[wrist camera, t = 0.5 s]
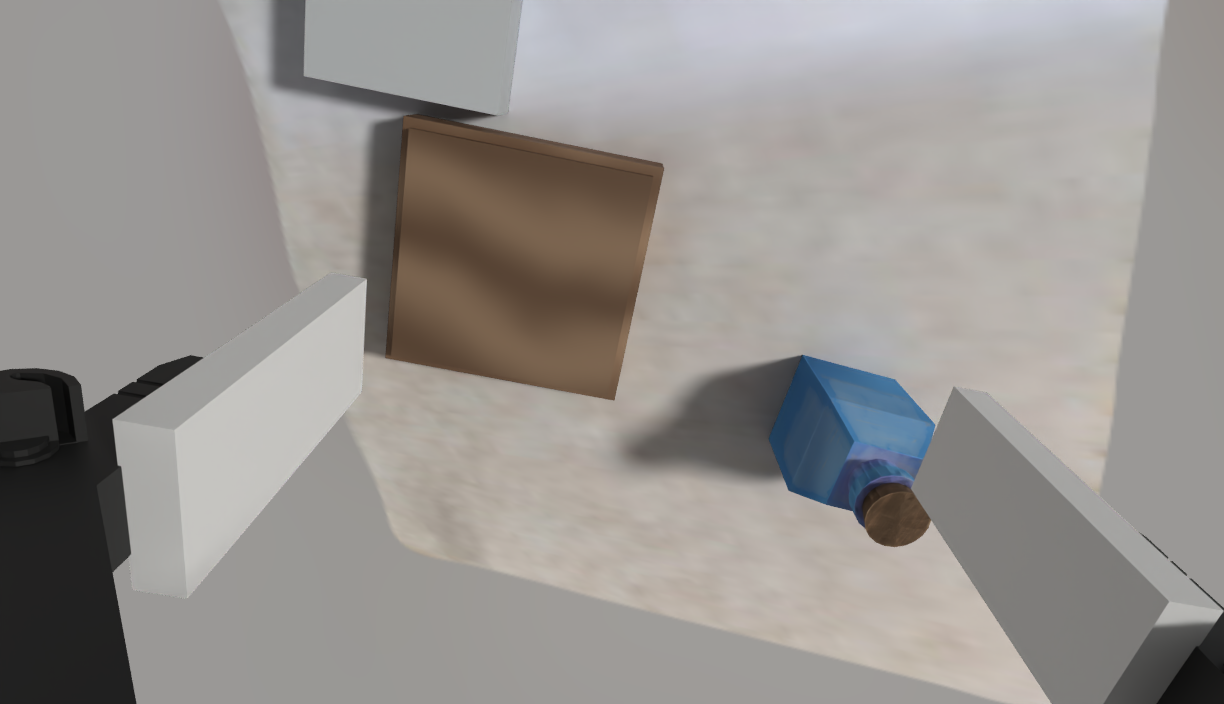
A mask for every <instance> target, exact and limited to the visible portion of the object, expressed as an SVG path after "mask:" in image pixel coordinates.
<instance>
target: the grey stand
mask: <svg viewBox="0 0 1224 704" xmlns="http://www.w3.org/2000/svg"><path fill="white" fill-rule="evenodd" d="M521 7H522V0H305V41H304V76H306V77H310V78H315V79H320V80H325V81H330V82H335V83H340V84H345V85H350V86H355V87H360V88H365V89H369V90H374V91H379V92H384V93H389V94H394V95H399V96H404V97H409V98H414V99H419V100H424V101H429V102H433V103H438V104H443V105H448V106H453V107H458V108H463V109H468V110H473V111H478V112H483V113H488V114H493V115H497V116H499V115H503V114H507V113H508V108H509V101H510V93H511V85H512V77H513V69H514V62H515V54H516V46H517V38H518V31H519V23H520V15H521Z"/></svg>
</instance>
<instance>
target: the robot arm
mask: <svg viewBox="0 0 1224 704" xmlns="http://www.w3.org/2000/svg"><path fill="white" fill-rule="evenodd" d="M366 288H367V279H366V278H360V277H355V276H349V275H344V274H339V273H333V272H331V273H329V274H328V275H326V276H325V277H323V278H322V279H320V280H319V281H317V282H316V283H314V284H313V285H312V286H310V287H309V288H307V289H306V290H304V291H303V292H301V293H300V294H298V295H297V296H295V297H294V298H292V299H291V300H289V301H288V302H286V303H285V304H283V305H282V306H280V307H279V308H277V309H276V310H275V311H273V312H271V313H270V314H269V315H267V316H265V317H264V318H262V319H261V320H260V321H258V322H257V323H255V324H254V325H252V326H251V327H249V328H248V329H246V330H245V331H243V332H242V333H240V334H239V335H238V336H236V337H234V338H233V339H231V340H230V341H228V342H227V343H225V344H224V345H222V346H221V347H219V348H218V349H216V350H215V351H214V352H212V353H210V354H209V355H207V356H206V357H204V358H203V357H196V356H191V355H190V356H187V357H184V358H181V359H177V360H174V361H171V362H168V363H165V364H162V365H159V366H157V367H156V368H154V369H153V370H151V371H149V372H148V373H146V374H145V375H143V376H141V377H140V378H138V379H137V382H132V383H130V384H129V385H127V386H125V387H124V388H122V389H120V390H119V391H118V394H113V395H111V396H109V397H108V398H106V399H105V400H103V401H101V402H100V403H98V404H96V405H95V406H93V407H92V408H90V409H89V410H87V411H85V412H84V405H83V397H82V390H81V384H80V383H79V382H78V381H77V379H76V378H75V377H74V376H71V375H68V374H66V373H63V372H60V371H55V370H47V369H37V368H35V369H33V368H32V369H9V370H3V371H0V704H136V699H135V694H134V689H133V682H132V677H131V671H130V666H129V660H128V656H127V650H126V644H125V639H124V633H123V628H122V622H121V617H120V612H119V606H118V600H117V595H116V590H115V584H114V579H113V573H112V572H113V571H114V570H115V569H116V568H117V567H118V566H119V565H120V564H122V563H123V561H125V560H126V559H127V558H129V566H130V574H131V583H132V590H136V591H143V592H149V593H155V594H161V595H167V596H173V597H179V598H185V599H187V598H188V597H189V596H190V595H191V594H192V593H193V592H194V590H195V589H196V588H197V587H198V586H199V584H200V583H201V582H202V580H204V578H205V577H206V576H207V575H208V574H209V573H210V571H211V570H212V569H213V568H214V567H215V565H216V564H217V563H218V562H219V561H220V559H221V558H222V557H223V556H224V555H225V554H226V552H227V551H228V550H229V549H230V548H231V546H232V545H233V544H234V543H235V542H236V541H237V539H238V538H239V537H240V536H241V535H242V533H243V532H244V531H245V530H246V529H247V527H248V526H249V525H250V524H251V523H252V522H253V520H254V519H255V518H256V517H257V516H258V514H259V513H260V512H261V511H262V510H263V508H264V507H265V506H266V505H267V504H268V503H269V501H270V500H271V499H272V498H273V497H274V495H275V494H276V493H277V492H278V491H279V489H280V488H281V487H282V486H283V485H284V484H285V482H286V481H287V480H288V478H290V476H291V475H292V474H293V473H294V472H295V470H296V469H297V468H298V467H299V466H300V464H301V463H302V462H303V461H304V460H305V459H306V457H307V456H308V455H309V454H310V453H311V451H312V450H313V449H314V448H315V447H316V446H317V444H318V443H319V442H320V441H321V440H322V438H323V437H324V436H325V435H326V434H327V433H328V431H329V430H330V429H331V428H332V427H333V425H334V424H335V423H336V422H337V421H338V419H339V418H340V417H341V416H342V415H343V414H344V412H345V411H346V410H347V409H348V408H349V407H350V405H351V404H352V403H353V402H354V401H355V399H356V398H357V397H358V396H359V395H360V393H361V392H362V377H363V355H364V333H365V311H366ZM911 490H912V491H913V493H914V494H915V496H916V497H917V499H918V500H919V502H920V504H921V505H922V507H923V508H924V510H925V511H926V513H927V514H928V516H929V517H930V519H931V520H932V522H933V523H934V525H935V526H936V528H937V529H938V531H939V533H940V534H941V536H942V537H943V539H944V540H945V542H946V543H947V545H948V546H949V548H950V549H951V551H952V552H953V554H954V555H955V557H956V558H957V560H958V561H959V563H960V565H961V566H962V568H963V569H964V571H965V572H966V574H967V575H968V577H969V578H970V580H971V581H972V583H973V584H974V586H975V587H976V589H977V590H978V592H979V594H980V595H981V597H982V598H983V600H984V601H985V603H986V604H987V606H988V607H989V609H990V610H991V612H992V613H993V615H994V616H995V618H996V619H997V621H998V622H999V624H1000V626H1001V627H1002V629H1003V630H1004V632H1005V633H1006V635H1007V636H1008V638H1009V639H1010V641H1011V642H1012V644H1013V645H1014V647H1015V648H1016V650H1017V651H1018V653H1019V655H1020V656H1021V658H1022V659H1023V661H1024V662H1025V664H1026V665H1027V667H1028V668H1029V670H1030V671H1031V673H1032V674H1033V676H1034V677H1035V679H1036V680H1037V682H1038V683H1039V685H1040V687H1041V688H1042V690H1043V691H1044V693H1045V694H1046V696H1047V697H1048V699H1049V700H1050V702H1051V703H1052V704H1224V608H1223V607H1222V606H1221V605H1220V604H1219V603H1217V602H1216V601H1215V600H1214V599H1213V598H1212V597H1211V596H1210V595H1209V594H1208V593H1206V592H1205V591H1204V590H1203V589H1202V588H1201V587H1200V586H1199V585H1198V584H1197V583H1196V582H1194V581H1193V580H1192V579H1189V578H1188V577H1187V574H1186V573H1185V572H1184V571H1183V570H1181V569H1180V568H1179V567H1178V566H1177V565H1176V564H1175V563H1174V562H1173V561H1169V560H1168V557H1167V556H1166V555H1165V554H1164V553H1163V552H1162V551H1161V550H1160V549H1158V548H1157V547H1156V546H1155V545H1154V544H1153V543H1152V542H1151V541H1149V539H1148V538H1147V537H1145V536H1144V535H1142V534H1141V533H1139V532H1138V531H1137V530H1135V528H1133V527H1132V526H1131V525H1130V524H1129V523H1128V522H1127V521H1126V520H1125V519H1124V518H1123V517H1122V516H1120V515H1119V514H1118V513H1117V512H1116V511H1115V510H1114V509H1113V508H1112V507H1111V506H1110V505H1108V504H1107V503H1106V502H1105V501H1104V500H1103V499H1102V498H1101V497H1100V496H1099V495H1098V494H1097V493H1095V492H1094V491H1093V490H1092V489H1091V488H1090V487H1089V486H1088V485H1087V484H1086V483H1085V482H1084V481H1082V480H1081V479H1080V478H1079V477H1078V476H1077V475H1076V474H1075V473H1074V472H1073V471H1072V470H1071V469H1069V468H1068V467H1067V466H1066V465H1065V464H1064V463H1063V462H1062V461H1061V460H1060V459H1059V458H1057V457H1056V456H1055V455H1054V454H1053V453H1052V452H1051V451H1050V450H1049V449H1048V448H1047V447H1046V446H1044V445H1043V444H1042V443H1041V442H1040V441H1039V440H1038V439H1037V438H1036V437H1035V436H1034V435H1033V434H1031V433H1030V432H1029V431H1028V430H1027V429H1026V428H1025V427H1024V426H1023V425H1022V424H1021V423H1020V422H1018V421H1017V420H1016V419H1015V418H1014V417H1013V416H1012V415H1011V414H1010V413H1009V412H1008V411H1006V410H1005V409H1004V408H1003V407H1002V406H1001V405H1000V404H999V403H998V402H997V401H996V400H995V399H993V398H992V397H991V396H990V395H989V394H988V393H987V392H982V391H976V390H971V389H965V388H960V387H954V388H953V390H952V392H951V395H950V397H949V399H948V402H947V404H946V407H945V409H944V411H943V414H942V416H941V418H940V421H939V423H938V426H937V428H936V430H935V433H934V435H933V437H932V440H931V442H930V445H929V447H928V449H927V452H926V454H925V456H924V459H923V461H922V464H921V466H920V468H919V471H918V473H917V475H916V478H915V480H914V483H913V485H912V487H911Z"/></svg>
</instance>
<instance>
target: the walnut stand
mask: <svg viewBox="0 0 1224 704" xmlns="http://www.w3.org/2000/svg"><path fill="white" fill-rule="evenodd" d="M663 171H664V167H663V164H662V163H657V162H652V161H647V160H642V159H637V158H632V157H627V156H622V155H617V154H612V153H607V152H602V151H597V150H593V149H588V148H583V147H578V146H573V145H568V144H563V143H558V142H553V141H548V140H543V139H538V138H533V137H528V136H523V135H518V134H513V133H508V132H504V131H499V130H494V129H489V128H484V127H479V126H474V125H469V124H464V123H459V122H454V121H449V120H444V119H439V118H434V117H429V116H424V115H419V114H413V115H406V116H404V117H403V131H402V144H401V157H400V171H399V184H398V197H397V211H396V224H395V237H394V250H393V264H392V277H391V290H390V304H389V317H388V330H387V344H386V357H385V358H388V359H394V360H399V361H405V362H410V363H415V364H421V365H426V366H431V367H437V368H442V369H448V370H453V371H458V372H464V373H469V374H475V375H480V376H485V377H491V378H496V379H502V380H507V381H512V382H518V383H523V384H528V385H534V386H539V387H545V388H550V389H555V390H561V391H566V392H572V393H577V394H582V395H588V396H593V397H598V398H604V399H609V400H615V395H616V390H617V386H618V381H619V376H620V372H621V367H622V362H623V358H624V353H625V348H626V344H627V339H628V334H629V330H630V325H631V320H632V316H633V311H634V306H635V302H636V297H637V292H638V288H639V283H640V278H641V274H642V269H643V264H644V260H645V255H646V250H647V246H648V241H649V236H650V232H651V227H652V222H653V218H654V213H655V208H656V204H657V199H658V194H659V190H660V185H661V180H662V176H663Z"/></svg>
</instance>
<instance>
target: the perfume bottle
mask: <svg viewBox="0 0 1224 704" xmlns="http://www.w3.org/2000/svg"><path fill="white" fill-rule="evenodd" d="M934 428H935V424H934V423H933V422H932V420H931V419H930V418H929V417H928V416H927V415H926V414H925V413H924V412H923V410H922V409H921V408H920V407H919V406H918V405H917V404H916V403H915V401H914V400H913V399H912V398H911V397H910V396H909V395H908V394H907V393H906V391H905V390H904V389H903V388H902V387H901V386H900V385H899V384H898V382H897V381H896V380H894V379H891V378H887V377H883V376H880V375H876V374H872V373H868V372H865V371H861V370H857V369H853V368H850V367H846V366H842V365H838V364H835V363H831V362H827V361H823V360H820V359H816V358H812V357H809V356H805V355H802V358H801V360H800V363H799V365H798V368H797V370H796V373H795V375H794V377H793V380H792V382H791V385H790V387H789V390H788V392H787V395H786V397H785V400H784V402H783V405H782V407H781V410H780V412H779V415H778V417H777V419H776V422H775V424H774V427H773V429H772V432H771V434H770V437H769V441H770V444H771V446H772V449H773V451H774V454H775V457H776V459H777V462H778V464H779V467H780V469H781V472H782V475H783V477H784V480H785V482H786V485H787V487H788V490H789V491H791V492H794V493H796V494H799V495H802V496H804V497H807V498H810V499H812V500H815V501H818V502H820V503H823V504H826V505H830V506H834V507H838V508H842V509H846V510H850V511H853V512H854V514H855V516H856V518H857V520H858V522H859V523H860V524H861V525H862V526H863V527H864V528H865V529H866V531H867V533H868V535H869V537H871V538H872V539H873V540H874V541H875V542H876V543H879V544H881V545H884V546H890V547H898V546H904V545H907V544H910V543H912V542H914V541H916V540H917V539H918V538H920V537H921V536H922V535H923V534H924V533H925V532H926V530H927V529H928V528H929V525H930V522H931V519H930V517H929V516H928V514H927V513H926V511H925V510H924V508H923V507H922V505H921V504H920V502H919V500H918V499H917V497H916V496H915V494H914V493H913V491H912V490H911V487H912V485H913V483H914V480H915V478H916V475H917V473H918V471H919V468H920V466H921V464H922V461H923V459H924V456H925V454H926V452H927V449H928V447H929V445H930V442H931V440H932V436H933V432H934Z"/></svg>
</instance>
